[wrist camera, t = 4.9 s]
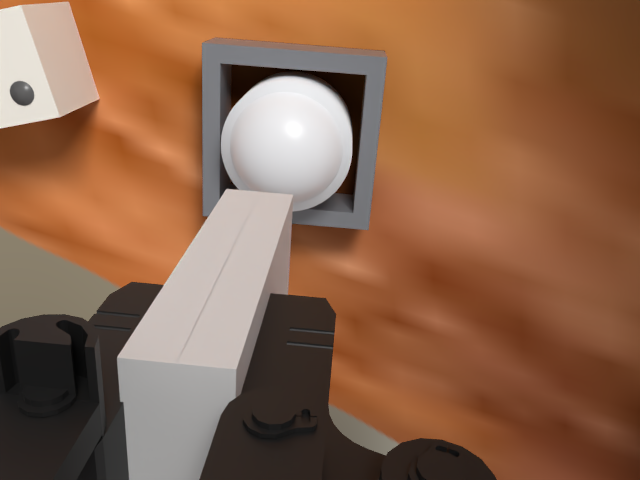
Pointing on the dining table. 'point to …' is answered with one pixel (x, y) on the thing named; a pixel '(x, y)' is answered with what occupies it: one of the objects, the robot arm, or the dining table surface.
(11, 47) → the die
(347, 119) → the dome
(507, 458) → the dining table surface
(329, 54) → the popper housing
